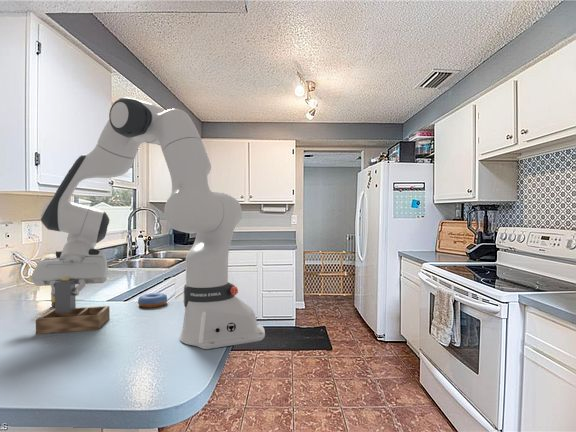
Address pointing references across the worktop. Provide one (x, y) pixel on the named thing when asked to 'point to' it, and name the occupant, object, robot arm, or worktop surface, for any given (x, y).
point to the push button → (64, 295)
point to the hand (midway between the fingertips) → (64, 295)
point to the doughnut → (152, 300)
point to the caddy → (73, 320)
